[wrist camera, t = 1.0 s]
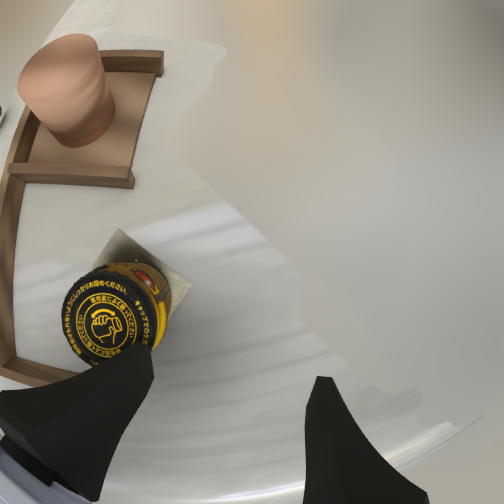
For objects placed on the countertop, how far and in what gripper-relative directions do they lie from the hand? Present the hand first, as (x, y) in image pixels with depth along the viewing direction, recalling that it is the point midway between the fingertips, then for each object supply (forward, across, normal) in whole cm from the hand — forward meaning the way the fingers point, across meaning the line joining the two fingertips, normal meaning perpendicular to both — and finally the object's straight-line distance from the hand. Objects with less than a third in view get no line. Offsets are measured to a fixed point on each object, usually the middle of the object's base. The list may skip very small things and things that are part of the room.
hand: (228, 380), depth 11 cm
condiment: (+11, +11, +3) cm, 16 cm away
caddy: (+11, +19, -4) cm, 22 cm away
